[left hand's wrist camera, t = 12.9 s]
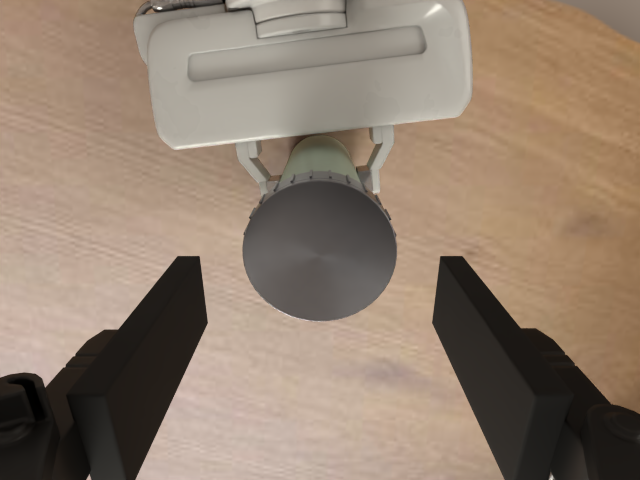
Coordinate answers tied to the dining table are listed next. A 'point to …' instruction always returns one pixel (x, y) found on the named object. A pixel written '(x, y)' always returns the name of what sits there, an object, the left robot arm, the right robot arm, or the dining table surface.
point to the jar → (320, 157)
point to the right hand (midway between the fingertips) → (321, 197)
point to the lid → (319, 246)
